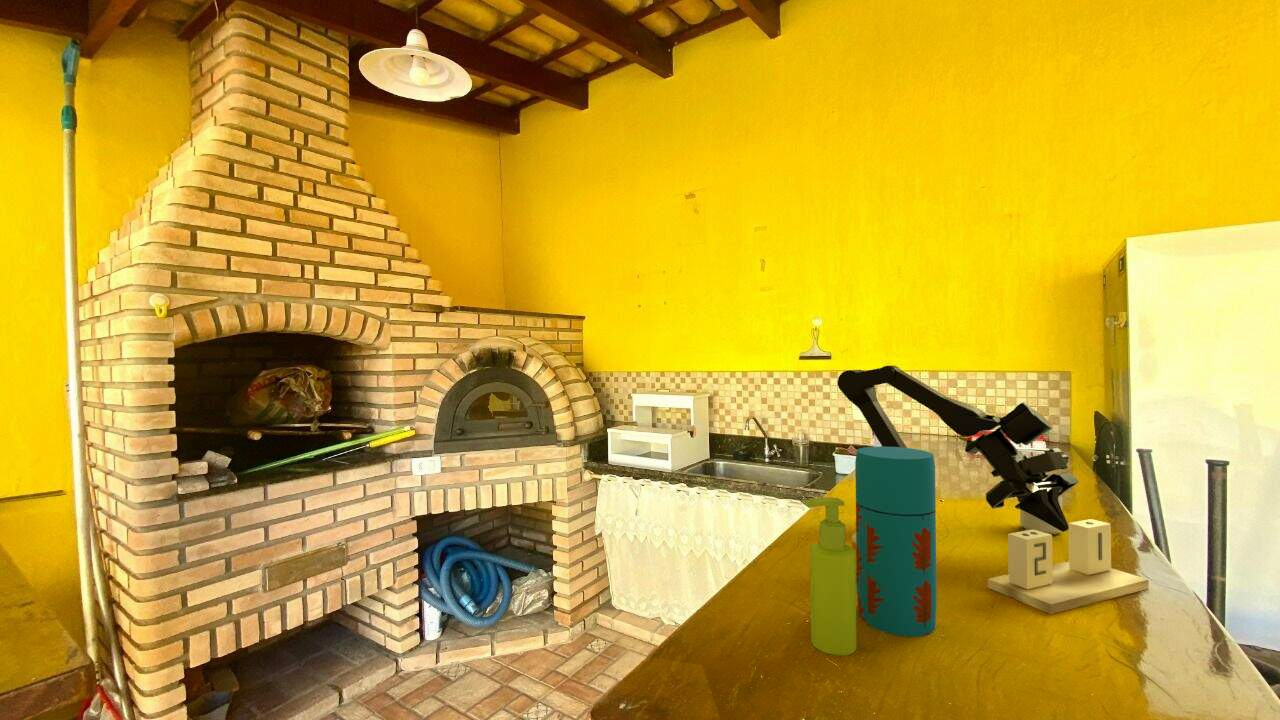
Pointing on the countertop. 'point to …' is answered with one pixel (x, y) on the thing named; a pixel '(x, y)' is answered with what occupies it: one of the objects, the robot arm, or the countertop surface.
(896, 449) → the thermos
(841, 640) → the soap dispenser
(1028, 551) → the cream numbered block 2
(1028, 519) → the can
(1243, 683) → the countertop surface
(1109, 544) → the cream numbered block 1
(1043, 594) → the beige wooden board
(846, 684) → the countertop surface
